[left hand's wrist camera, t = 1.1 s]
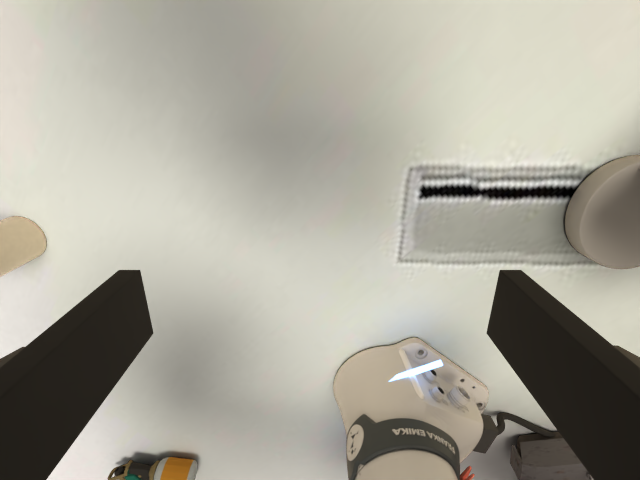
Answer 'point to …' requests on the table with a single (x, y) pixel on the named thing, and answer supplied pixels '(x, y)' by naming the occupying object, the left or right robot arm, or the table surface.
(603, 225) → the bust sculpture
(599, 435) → the left robot arm
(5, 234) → the bottle
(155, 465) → the spray gun
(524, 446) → the toy
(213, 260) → the table surface
